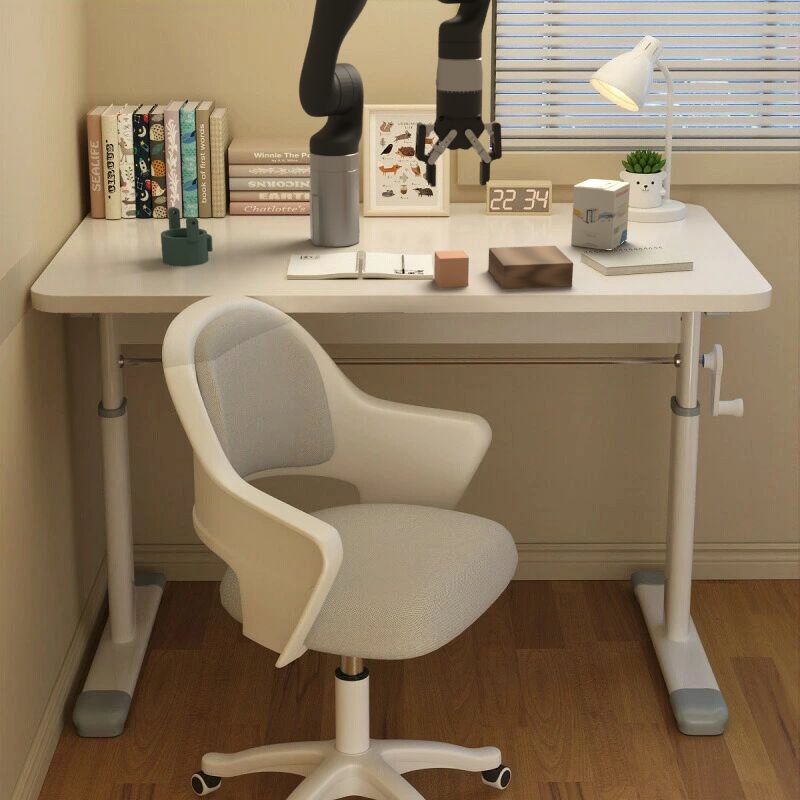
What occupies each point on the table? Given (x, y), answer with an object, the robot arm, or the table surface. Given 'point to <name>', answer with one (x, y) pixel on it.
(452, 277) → the terracotta cube
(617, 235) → the ink box
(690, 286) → the table surface
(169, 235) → the bracket
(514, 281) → the walnut base
